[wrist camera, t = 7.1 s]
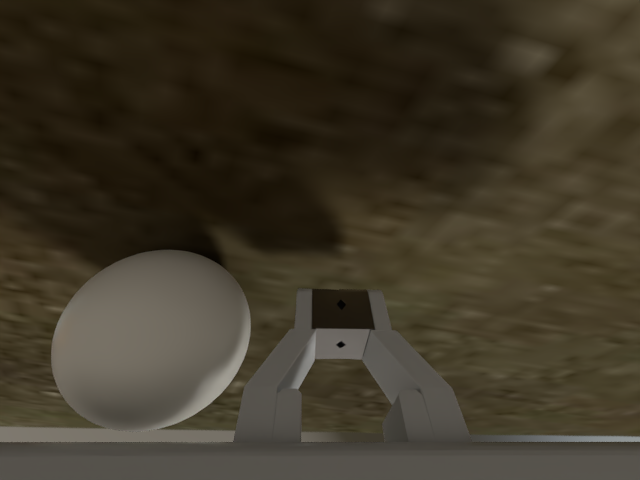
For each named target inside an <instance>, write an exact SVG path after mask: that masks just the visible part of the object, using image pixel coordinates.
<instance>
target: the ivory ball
mask: <svg viewBox="0 0 640 480" xmlns="http://www.w3.org/2000/svg"><path fill="white" fill-rule="evenodd" d="M250 330H251V320H250V311H249V307H248V303H247V300H246V297H245V295H244V293H243V291H242V289H241V287H240V285H239V284H238V283H237V281H236V280H235V279H234V277H233V276H232V275H231V274H230V273H229V272H228V271H227V270H225V269H224V268H223V267H222V266H221V265H219V264H218V263H216V262H214V261H212V260H210V259H209V258H206V257H204V256H202V255H199V254H196V253H192V252H188V251H181V250H156V251H148V252H143V253H139V254H136V255H133V256H130V257H127V258H124V259H122V260H120V261H117V262H115V263H113V264H112V265H110V266H108V267H106V268H105V269H103V270H102V271H100V272H99V273H97V274H96V275H95V276H93V277H92V278H91V279H90V280H89V281H87V282H86V283H85V284H84V285H83V286H82V287H81V288H80V289H79V290H78V292H77V293H76V294H75V295H74V296H73V298H72V299H71V300H70V302H69V303H68V305H67V306H66V308H65V309H64V311H63V313H62V315H61V317H60V319H59V321H58V324H57V327H56V329H55V333H54V337H53V341H52V350H51V364H52V371H53V376H54V378H55V381H56V384H57V387H58V389H59V391H60V393H61V394H62V396H63V397H64V399H65V401H66V402H67V403H68V404H69V405H70V406H71V407H72V408H73V409H74V410H75V411H76V412H77V413H78V414H79V415H81V416H82V417H84V418H86V419H87V420H89V421H90V422H92V423H94V424H97V425H100V426H103V427H106V428H108V429H113V430H119V431H129V432H140V431H150V430H155V429H160V428H163V427H167V426H170V425H173V424H176V423H178V422H181V421H183V420H185V419H187V418H189V417H191V416H193V415H194V414H196V413H197V412H199V411H200V410H202V409H203V408H205V407H206V406H208V405H209V404H210V403H211V402H212V401H213V400H214V399H216V398H217V397H218V396H219V395H220V394H221V393H222V392H223V391H224V389H225V388H226V387H227V386H228V385H229V383H230V382H231V381H232V379H233V378H234V376H235V375H236V373H237V372H238V370H239V368H240V366H241V364H242V362H243V360H244V357H245V354H246V351H247V348H248V343H249V338H250Z"/></svg>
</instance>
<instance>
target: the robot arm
mask: <svg viewBox="0 0 640 480" xmlns="http://www.w3.org/2000/svg"><path fill="white" fill-rule="evenodd" d="M338 358H339V359H363V360H362V361H363V362H364V364H365V365H366V367H367V368H368V370H369V371H370V373H371V374H372V376H373V377H374V379H375V380H376V382H377V383H378V385H379V386H380V388H381V389H382V390H383V392H384V393H385V395H386V396H387V398H388V399H389V401H390V402H391V404H392V407H391V409H390V411H389V413H388V414H387V416H386V418H385V420H384V422H383V424H382V426H383V432H384V439H385V442H301V393H300V392H299V391H298V388H299V387H300V385H301V383H302V382H303V380H304V378H305V376H306V375H307V373H308V371H309V369H310V368H311V366H312V364H313V362H314V361H315V359H338ZM0 480H640V442H472V440H471V437H470V435H469V432H468V429H467V427H466V424H465V421H464V418H463V416H462V413H461V410H460V408H459V405H458V402H457V400H456V397H455V394H454V392H453V389H452V388H451V387H450V386H449V385H448V384H447V383H446V382H445V380H444V379H443V378H442V377H441V376H440V375H439V374H438V373H437V372H436V371H435V370H434V369H433V368H432V367H431V366H430V365H429V364H428V363H427V362H426V361H425V360H424V359H423V358H422V357H421V356H420V355H419V354H418V352H417V351H416V350H415V349H414V348H413V347H412V346H411V345H410V344H409V343H408V342H407V341H406V340H405V339H404V338H403V337H402V336H401V335H400V334H399V333H398V332H397V331H396V330H392V328H391V324H390V320H389V316H388V312H387V308H386V304H385V300H384V296H383V293H382V291H381V290H355V289H339V290H331V289H304V288H298V290H297V300H296V314H295V328H294V329H290V330H289V331H288V332H287V334H286V335H285V336H284V337H283V339H282V340H281V341H280V342H279V344H278V345H277V346H276V348H275V349H274V350H273V351H272V353H271V354H270V355H269V356H268V358H267V359H266V360H265V361H264V363H263V364H262V365H261V367H260V368H259V369H258V370H257V372H256V373H255V374H254V375H253V377H252V378H251V379H250V380H249V382H248V383H247V384H246V386H245V387H244V392H243V397H242V402H241V407H240V411H239V416H238V421H237V426H236V431H235V436H234V441H233V442H22V443H21V442H0Z"/></svg>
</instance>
